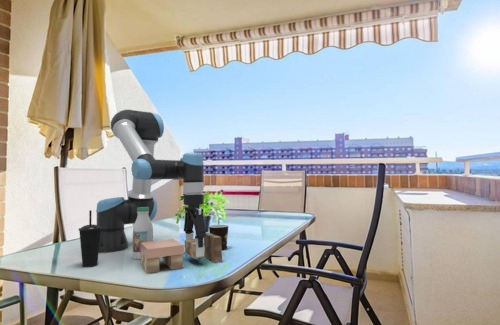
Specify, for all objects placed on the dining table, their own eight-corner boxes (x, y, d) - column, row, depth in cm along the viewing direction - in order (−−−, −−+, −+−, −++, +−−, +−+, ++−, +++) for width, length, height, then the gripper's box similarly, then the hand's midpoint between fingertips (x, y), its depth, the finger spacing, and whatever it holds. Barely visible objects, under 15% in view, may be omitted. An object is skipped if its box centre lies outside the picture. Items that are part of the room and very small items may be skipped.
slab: (140, 250, 113) (140, 242, 113) (173, 247, 119) (173, 239, 119) (147, 258, 101) (147, 249, 101) (183, 253, 106) (183, 244, 106)
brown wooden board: (204, 256, 123) (203, 233, 124) (209, 255, 124) (209, 233, 125) (215, 263, 113) (215, 237, 113) (221, 262, 114) (221, 237, 114)
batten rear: (141, 265, 111) (141, 251, 111) (152, 264, 113) (152, 250, 113) (146, 273, 101) (146, 257, 102) (159, 271, 103) (159, 256, 104)
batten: (184, 252, 119) (184, 240, 119) (195, 251, 121) (194, 239, 121) (194, 258, 109) (193, 244, 110) (204, 256, 111) (204, 243, 111)
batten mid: (163, 262, 115) (163, 248, 115) (174, 261, 117) (174, 247, 117) (171, 269, 105) (171, 254, 106) (182, 267, 107) (182, 253, 108)
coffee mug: (219, 246, 142) (218, 224, 143) (233, 248, 137) (232, 225, 138) (199, 251, 133) (199, 227, 134) (213, 253, 128) (213, 229, 129)
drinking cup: (79, 264, 116) (80, 210, 117) (102, 262, 118) (102, 209, 120) (76, 269, 109) (77, 211, 110) (100, 266, 111) (100, 210, 113)
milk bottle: (144, 254, 130) (144, 206, 131) (157, 256, 126) (157, 206, 127) (128, 258, 123) (128, 207, 124) (141, 260, 119) (141, 208, 120)
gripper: (214, 193, 108) (216, 258, 107) (193, 193, 129) (194, 247, 127) (193, 194, 105) (195, 261, 103) (175, 194, 125) (176, 249, 123)
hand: (194, 253), depth 115 cm, fingers closed on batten, 11 cm apart
